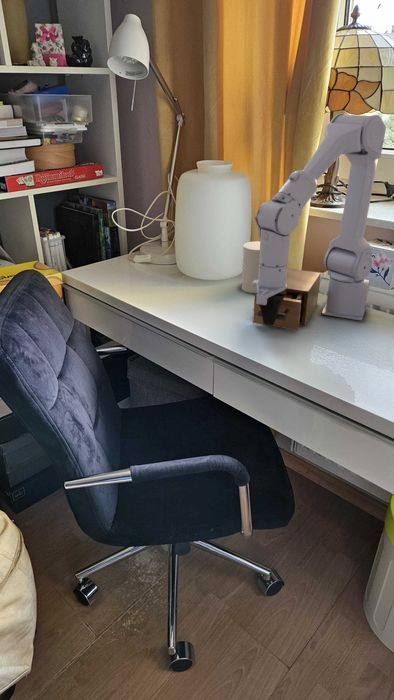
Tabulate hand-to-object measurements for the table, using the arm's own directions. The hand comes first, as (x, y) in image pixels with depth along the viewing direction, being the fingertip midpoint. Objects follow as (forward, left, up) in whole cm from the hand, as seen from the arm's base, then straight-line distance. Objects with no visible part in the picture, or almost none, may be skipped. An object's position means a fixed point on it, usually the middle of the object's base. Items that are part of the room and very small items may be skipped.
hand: (268, 323), depth 103 cm
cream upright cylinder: (+12, -29, -4) cm, 31 cm away
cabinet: (0, -17, -4) cm, 17 cm away
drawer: (0, -9, -3) cm, 10 cm away
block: (0, -9, -2) cm, 9 cm away
